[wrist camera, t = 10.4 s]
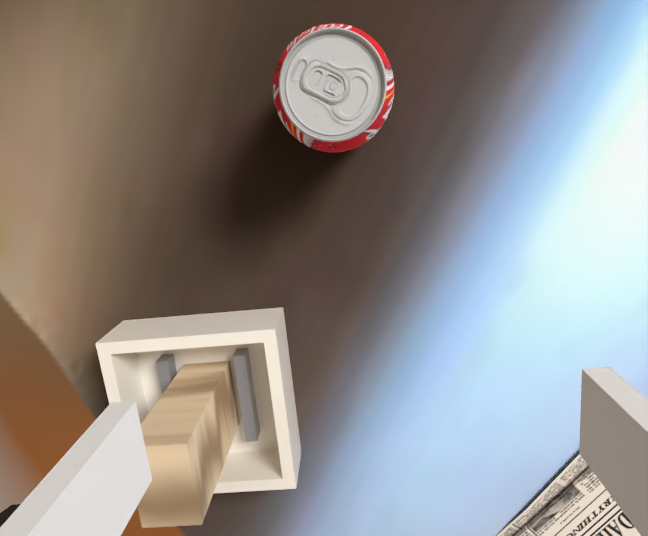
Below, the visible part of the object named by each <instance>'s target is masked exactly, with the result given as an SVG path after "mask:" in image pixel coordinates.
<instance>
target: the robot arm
mask: <svg viewBox="0 0 648 536" xmlns="http://www.w3.org/2000/svg"><path fill="white" fill-rule="evenodd" d="M579 454H580V455H581V456H582V458H583V459H584V460H585V462H586V463H587V464H588V466H589V467H590V468H591V470H592V471H593V472H594V474H595V475H596V476H597V478H598V479H599V480H600V482H601V483H602V484H603V486H604V487H605V488H606V490H607V491H608V492H609V494H610V495H611V496H612V498H613V499H614V500H615V501H616V503H617V504H618V505H619V507H620V508H621V509H622V511H623V512H624V513H625V515H626V516H627V517H628V519H629V520H630V521H631V523H632V524H633V525H634V527H635V528H636V529H637V531H638V532H639V533H640V535H641V536H648V399H646V398H645V397H644V396H643V395H642V394H641V393H639V392H638V391H637V390H636V389H635V388H634V387H632V386H631V385H630V384H629V383H628V382H627V381H625V380H624V379H623V378H622V377H621V376H619V375H618V374H617V373H616V372H615V371H614V370H612V369H611V368H610V367H606V368H592V369H582V389H581V421H580V452H579ZM151 481H152V476H151V471H150V466H149V462H148V457H147V452H146V448H145V443H144V438H143V434H142V429H141V424H140V420H139V415H138V410H137V406H136V401H129V402H115V403H110V404H109V406H108V407H107V408H106V409H105V410H104V411H103V412H102V413H101V415H100V416H99V417H98V418H97V419H96V420H95V421H94V423H93V424H92V425H91V426H90V427H89V428H88V429H87V431H86V432H85V433H84V434H83V435H82V436H81V437H80V438H79V439H78V440H77V442H76V443H75V444H74V445H73V446H72V447H71V448H70V449H69V451H68V452H67V453H66V454H65V455H64V456H63V458H62V459H61V460H60V461H59V462H58V463H57V464H56V465H55V467H54V468H53V469H52V470H51V471H50V472H49V473H48V474H47V475H46V477H45V478H44V479H43V480H42V481H41V482H40V483H39V484H38V486H37V487H36V488H35V489H34V490H33V491H32V492H31V493H30V495H29V496H28V497H27V498H26V499H25V500H24V501H23V502H22V504H18V505H11V506H10V507H8V508H7V509H5V510H4V511H3V512H1V513H0V536H121V534H122V532H123V531H124V529H125V527H126V525H127V523H128V522H129V520H130V518H131V516H132V515H133V513H134V511H135V509H136V508H137V506H138V504H139V502H140V500H141V499H142V497H143V495H144V493H145V492H146V490H147V488H148V486H149V485H150V483H151Z"/></svg>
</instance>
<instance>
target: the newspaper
mask: <svg viewBox="0 0 648 536" xmlns="http://www.w3.org/2000/svg"><path fill="white" fill-rule="evenodd" d="M497 536H641V535H640V533H639V532H638V531H637V529H636V528H635V527H634V525H633V524H632V523H631V521H630V520H629V519H628V517H627V516H626V515H625V513H624V512H623V511H622V509H621V508H620V507H619V505H618V504H617V503H616V501H615V500H614V499H613V498H612V496H611V495H610V494H609V492H608V491H607V490H606V488H605V487H604V486H603V484H602V483H601V482H600V480H599V479H598V478H597V476H596V475H595V474H594V472H593V471H592V470H591V468H590V467H589V466H588V464H587V463H586V462H585V460H584V459H583V458H582V456H581V455H580V454H579V455H578V456H577V457H576V458H575V459H574V460H573V461H572V462H571V463H570V464H569V465H568V466H567V467H566V468H565V469H564V470H563V471H562V472H561V474H560V475H559V476H558V477H557V478H556V479H555V480H554V481H553V482H552V483H551V484H550V485H549V486H548V487H547V488H546V489H545V490H544V491H543V492H542V493H541V494H540V495H539V496H538V497H537V499H536V500H535V501H534V502H533V503H532V504H531V505H530V506H529V507H528V508H527V509H526V510H525V511H524V512H523V513H521V514H520V515H519V516H518V517H517V518H516V519H515V520H514V521H512V522H511V523H510V524H509V525H508V526H507V527H506V528H504V529H503V530H502V531H501V532H500V533H499V534H498V535H497Z"/></svg>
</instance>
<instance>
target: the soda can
mask: <svg viewBox="0 0 648 536" xmlns="http://www.w3.org/2000/svg"><path fill="white" fill-rule="evenodd" d="M273 97H274V103H275V107H276V110H277V113H278V115H279V117H280V120H281V121H282V123H283V124H284V126H285V127H286V129H287V130H288V131H289V132H290V133H291V134H292V135H293V136H294V137H295V138H296V139H297V140H299V141H300V142H301V143H303V144H305V145H306V146H308V147H310V148H313V149H315V150H318V151H323V152H332V153H336V152H345V151H348V150H352V149H354V148H357V147H359V146H361V145H363V144H364V143H366V142H367V141H369V140H370V139H371V138H372V137H373V136H374V135H375V134H376V133H377V132H378V131H379V129H380V128H381V127H382V125H383V124H384V122H385V120H386V119H387V117H388V114H389V112H390V109H391V106H392V102H393V98H394V77H393V72H392V68H391V65H390V63H389V60H388V58H387V56H386V54H385V52H384V51H383V49H382V48H381V47H380V45H379V44H378V43H377V42H376V41H375V40H374V39H373V38H372V37H371V36H369V35H368V34H366V33H365V32H363V31H362V30H360V29H357V28H355V27H353V26H349V25H345V24H335V23H331V24H323V25H319V26H316V27H313V28H311V29H309V30H306V31H304V32H303V33H302V34H300V35H299V36H297V37H296V38H295V39H294V40H293V41H292V42H291V43H290V44H289V45H288V46H287V48H286V49H285V50H284V52H283V53H282V55H281V57H280V59H279V61H278V64H277V67H276V70H275V74H274V79H273Z"/></svg>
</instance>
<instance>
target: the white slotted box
mask: <svg viewBox="0 0 648 536" xmlns="http://www.w3.org/2000/svg"><path fill="white" fill-rule="evenodd" d="M95 344H96V348H97V353H98V357H99V361H100V366H101V370H102V374H103V379H104V383H105V388H106V392H107V396H108V401H109V404H110V403H115V402H129V401H136V406H137V410H138V415H139V420H140V424H142V422H143V421H144V419H145V418H146V417H147V415H148V414H149V412H150V411H151V410H152V408H153V407H154V405H155V404H156V403H157V401H158V400H159V398H160V397H161V396H162V394H163V393H164V391H165V390H166V389H167V387H168V386H169V384H170V383H171V382H172V380H173V379H174V377H175V376H176V375H177V373H178V372H179V370H180V369H181V368H182V366H183V365H184V364H192V363H206V362H219V361H230V366H231V373H232V379H233V385H234V391H235V398H236V404H237V410H238V417H239V426H238V428H237V431H236V434H235V436H234V439H233V442H232V444H231V447H230V450H229V453H228V455H227V458H226V461H225V463H224V466H223V469H222V471H221V474H220V477H219V480H218V482H217V485H216V488H215V490H214V493H228V492H245V491H262V490H279V489H296V486H297V479H298V472H299V465H300V457H301V445H300V437H299V429H298V421H297V413H296V405H295V397H294V390H293V382H292V374H291V366H290V358H289V350H288V342H287V334H286V326H285V318H284V310H283V307H282V308H270V309H258V310H246V311H233V312H221V313H209V314H197V315H185V316H172V317H160V318H148V319H136V320H124V321H122V322H121V323H120V324H119V325H117V326H116V327H115V328H114V329H112V330H111V331H110V332H109V333H108V334H106V335H105V336H104V337H103V338H101V339H100V340H99V341H98V342H97V343H95Z"/></svg>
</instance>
